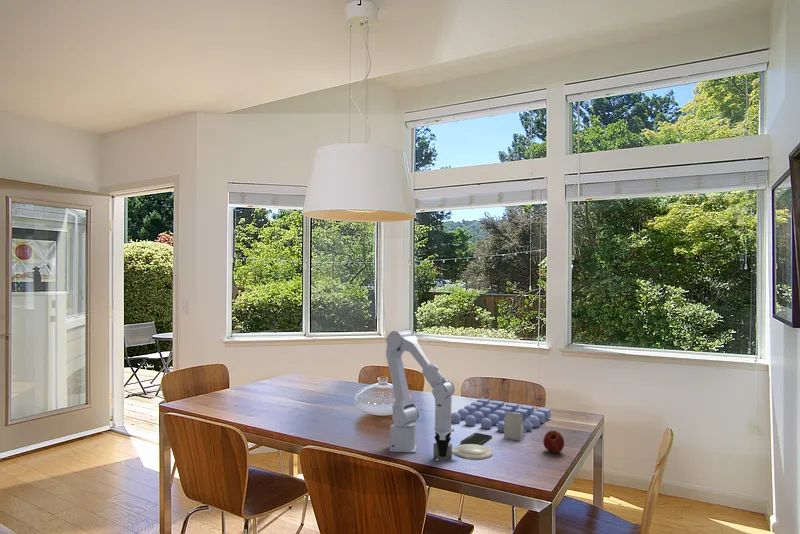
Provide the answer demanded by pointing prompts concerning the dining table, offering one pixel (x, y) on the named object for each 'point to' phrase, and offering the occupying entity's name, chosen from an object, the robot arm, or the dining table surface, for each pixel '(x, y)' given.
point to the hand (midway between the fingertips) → (442, 454)
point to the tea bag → (513, 426)
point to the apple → (553, 441)
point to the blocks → (499, 414)
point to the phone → (477, 439)
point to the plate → (473, 451)
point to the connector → (448, 454)
